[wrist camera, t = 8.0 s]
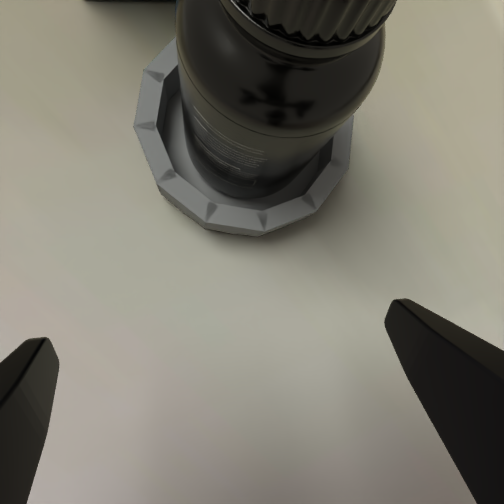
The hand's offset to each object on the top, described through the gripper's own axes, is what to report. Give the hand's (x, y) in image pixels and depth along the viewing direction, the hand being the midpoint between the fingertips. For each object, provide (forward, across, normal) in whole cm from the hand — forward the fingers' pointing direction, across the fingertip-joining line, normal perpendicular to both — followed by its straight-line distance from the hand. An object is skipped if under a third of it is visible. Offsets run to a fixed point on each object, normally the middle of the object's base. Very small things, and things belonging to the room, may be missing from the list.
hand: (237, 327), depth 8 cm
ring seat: (+13, -2, -1) cm, 13 cm away
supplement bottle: (+13, -2, -1) cm, 13 cm away
